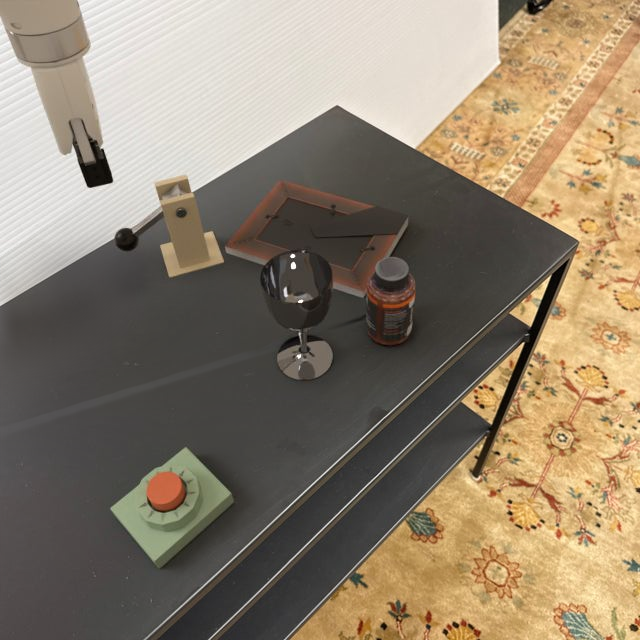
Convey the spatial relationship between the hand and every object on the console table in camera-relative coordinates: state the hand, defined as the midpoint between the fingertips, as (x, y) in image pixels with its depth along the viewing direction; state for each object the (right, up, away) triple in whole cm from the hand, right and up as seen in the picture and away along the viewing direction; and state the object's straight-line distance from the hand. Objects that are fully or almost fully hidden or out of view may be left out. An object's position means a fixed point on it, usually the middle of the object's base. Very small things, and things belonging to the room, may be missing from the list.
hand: (100, 181), depth 80 cm
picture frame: (+27, -6, +16) cm, 32 cm away
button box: (+12, -38, -10) cm, 41 cm away
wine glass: (+25, -22, +2) cm, 34 cm away
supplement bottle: (+36, -18, +4) cm, 41 cm away
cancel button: (+11, -35, -13) cm, 39 cm away
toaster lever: (+5, -4, +8) cm, 11 cm away
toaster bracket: (+9, -8, +14) cm, 19 cm away
